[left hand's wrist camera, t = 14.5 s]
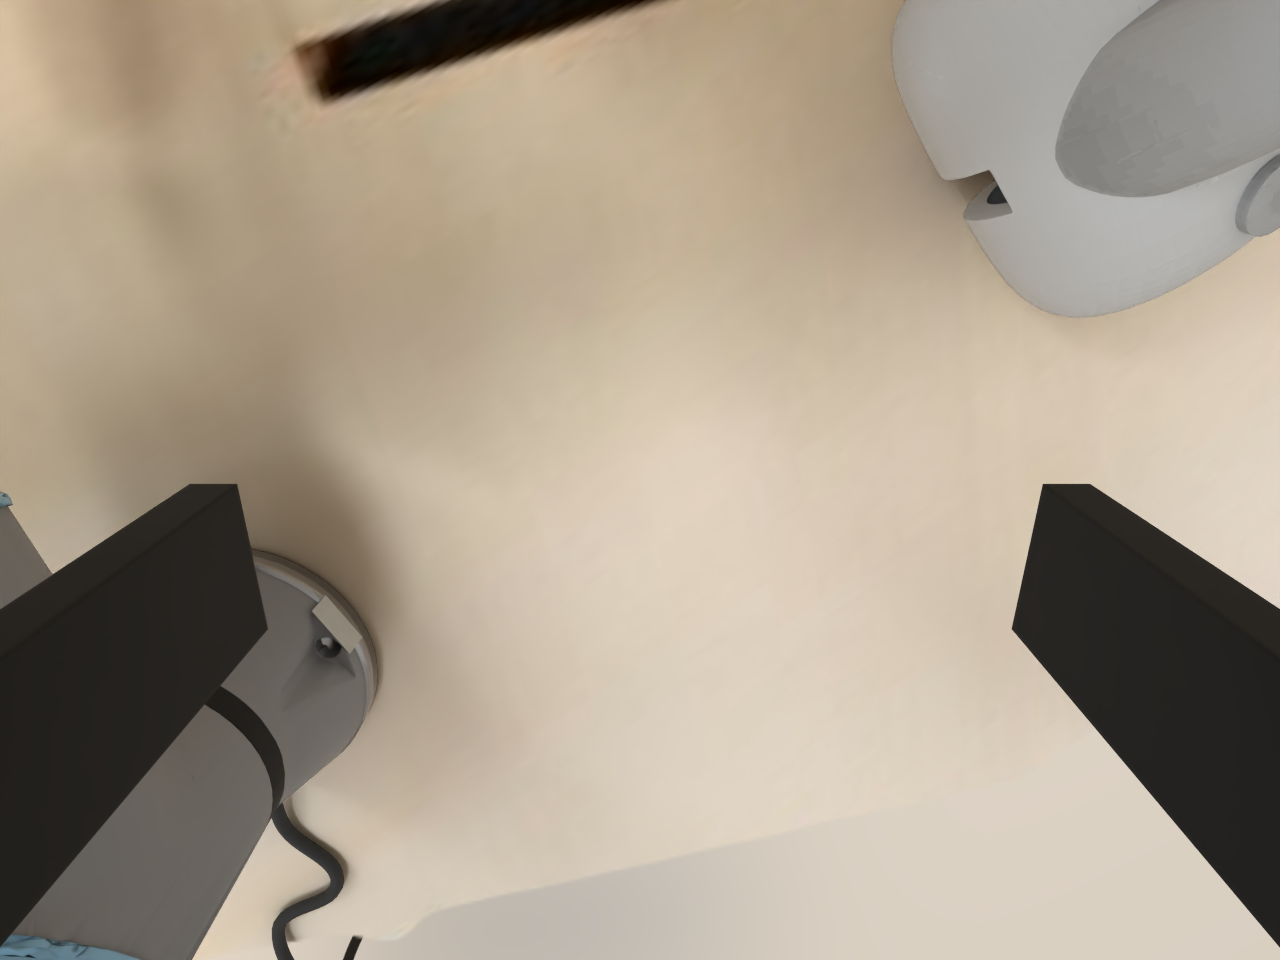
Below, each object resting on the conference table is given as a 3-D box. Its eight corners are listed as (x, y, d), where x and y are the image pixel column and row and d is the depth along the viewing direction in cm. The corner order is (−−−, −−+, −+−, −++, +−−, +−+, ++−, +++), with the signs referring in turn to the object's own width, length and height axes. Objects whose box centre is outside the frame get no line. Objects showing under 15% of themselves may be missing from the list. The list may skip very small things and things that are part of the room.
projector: (1277, 323, 37) (1643, 402, 24) (826, 286, 37) (936, 345, 23) (1498, -242, 29) (2251, -618, 16) (924, -303, 28) (1185, -751, 15)
